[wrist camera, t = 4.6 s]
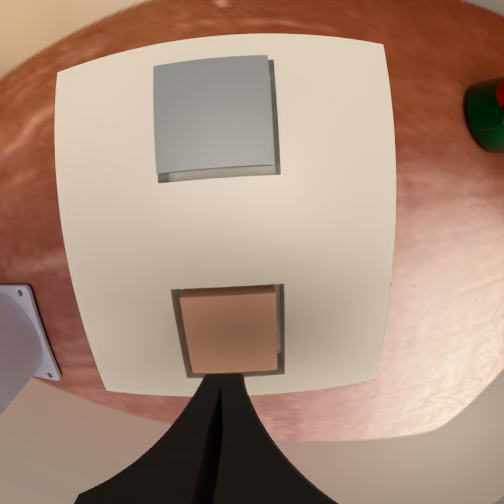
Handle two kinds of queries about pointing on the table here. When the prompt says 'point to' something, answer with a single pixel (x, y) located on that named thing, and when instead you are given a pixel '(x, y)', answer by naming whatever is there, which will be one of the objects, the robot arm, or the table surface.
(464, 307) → the table surface
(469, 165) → the table surface
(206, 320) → the terracotta key
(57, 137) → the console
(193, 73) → the slate key
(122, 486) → the robot arm
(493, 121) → the soda can
